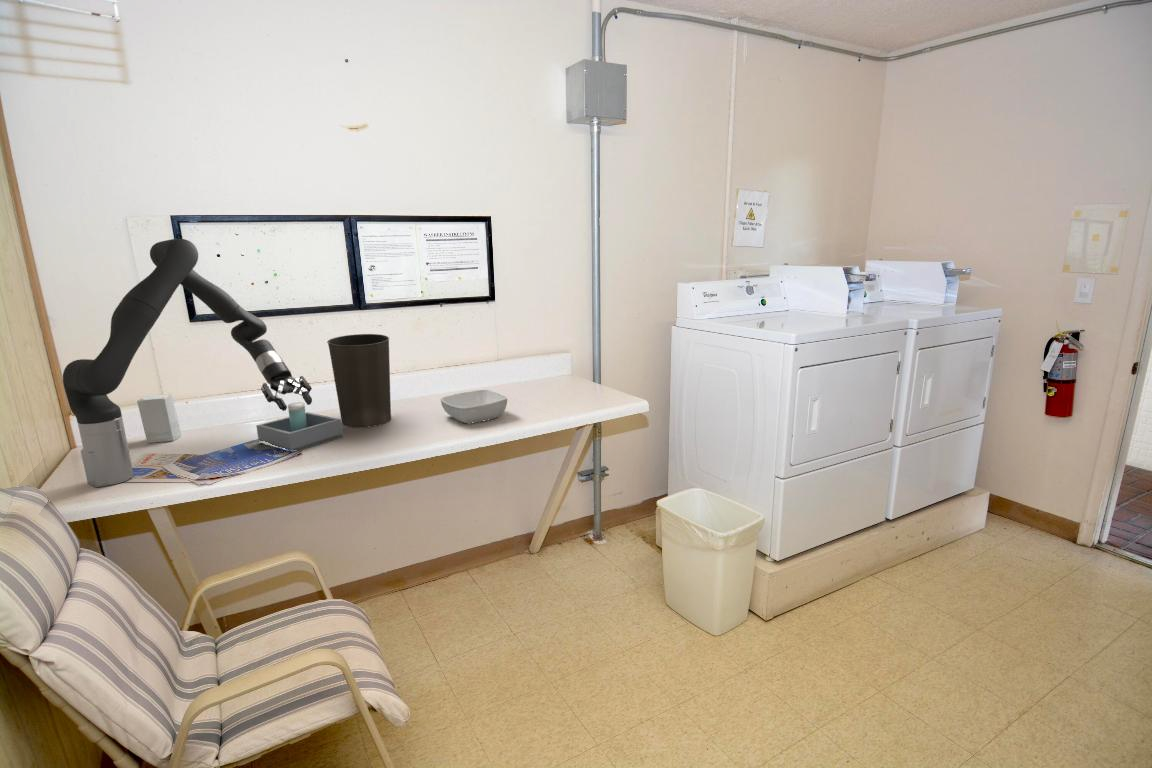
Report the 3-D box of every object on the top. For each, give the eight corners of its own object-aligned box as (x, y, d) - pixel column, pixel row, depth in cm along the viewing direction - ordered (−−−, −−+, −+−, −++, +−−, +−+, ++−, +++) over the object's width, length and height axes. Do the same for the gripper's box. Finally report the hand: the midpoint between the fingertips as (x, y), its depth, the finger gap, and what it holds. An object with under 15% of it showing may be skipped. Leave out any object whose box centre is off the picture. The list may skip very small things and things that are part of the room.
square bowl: (461, 429, 197) (459, 407, 196) (437, 416, 213) (435, 396, 212) (513, 418, 209) (512, 398, 207) (486, 407, 225) (485, 388, 224)
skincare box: (181, 436, 195) (174, 393, 192) (173, 441, 189) (165, 397, 186) (154, 438, 193) (146, 395, 190) (144, 443, 188) (136, 399, 184)
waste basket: (399, 427, 200) (392, 342, 193) (336, 435, 193) (326, 346, 186) (393, 409, 225) (386, 332, 218) (337, 415, 217) (328, 336, 211)
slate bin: (291, 452, 177) (289, 433, 175) (258, 443, 186) (256, 425, 185) (342, 436, 191) (340, 419, 190) (309, 428, 201) (307, 412, 199)
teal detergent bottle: (297, 440, 185) (293, 406, 183) (288, 437, 188) (284, 405, 185) (311, 436, 189) (307, 403, 187) (302, 434, 192) (298, 401, 189)
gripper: (254, 364, 181) (280, 404, 178) (297, 357, 193) (322, 394, 190) (248, 379, 185) (273, 418, 182) (290, 371, 197) (314, 408, 194)
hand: (298, 406), depth 186 cm, fingers open, 8 cm apart
